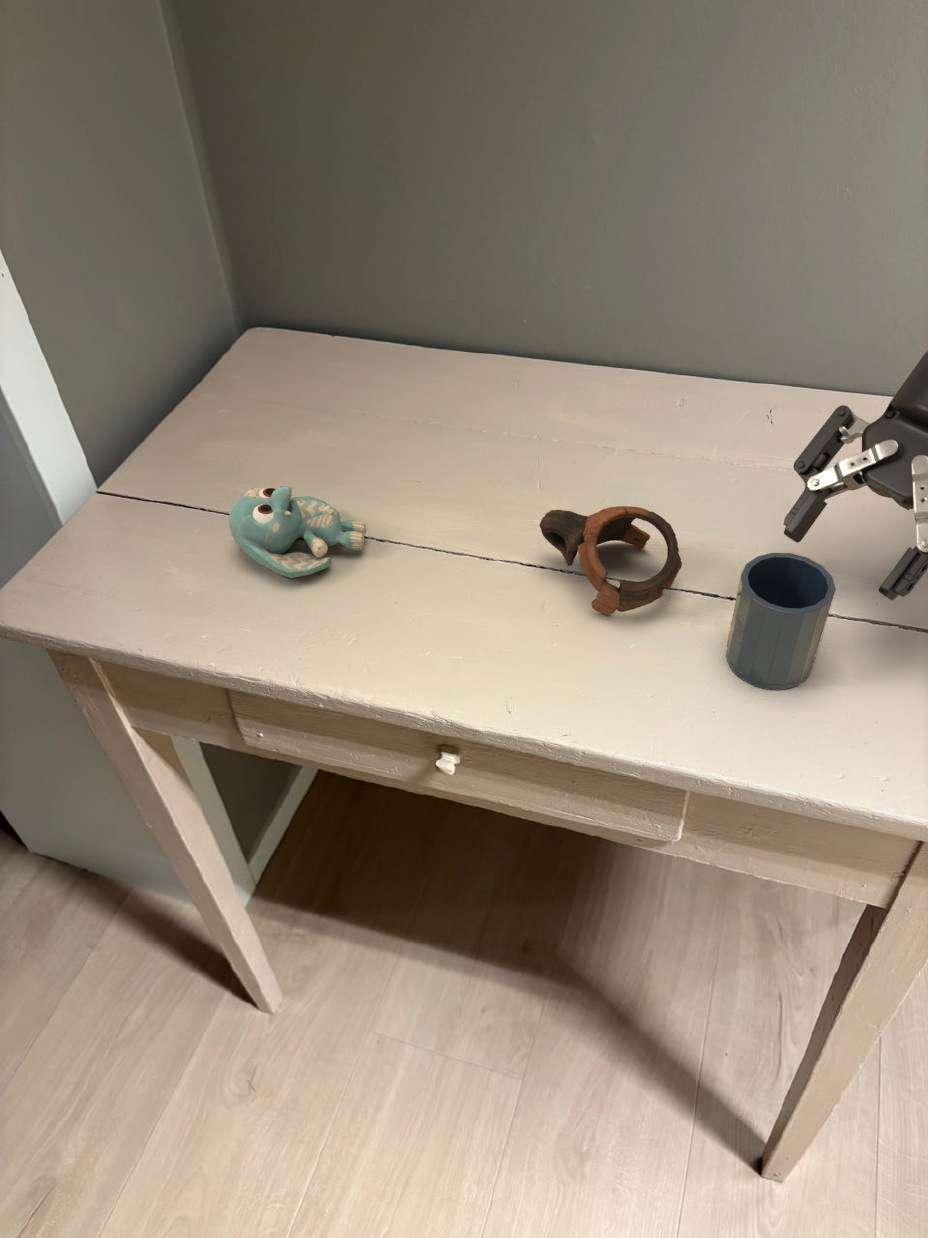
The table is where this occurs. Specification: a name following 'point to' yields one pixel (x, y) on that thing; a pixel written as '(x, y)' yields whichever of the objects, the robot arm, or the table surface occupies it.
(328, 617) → the table surface
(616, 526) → the brown broken clay pot
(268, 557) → the stuffed animal
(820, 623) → the cup
